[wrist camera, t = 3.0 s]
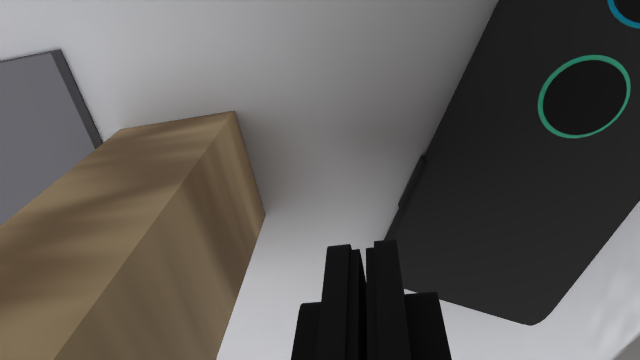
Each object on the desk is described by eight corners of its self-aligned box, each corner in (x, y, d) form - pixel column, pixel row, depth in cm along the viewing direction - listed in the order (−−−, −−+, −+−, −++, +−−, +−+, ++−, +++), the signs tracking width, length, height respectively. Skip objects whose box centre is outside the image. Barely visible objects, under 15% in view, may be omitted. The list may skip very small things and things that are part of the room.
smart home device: (982, -217, 11) (542, 332, 20) (906, -198, 12) (530, 304, 22) (677, -350, 10) (370, 280, 20) (637, -313, 12) (369, 256, 21)
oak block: (234, 110, 18) (53, 360, 7) (265, 215, 20) (160, 520, 10) (120, 129, 19) (-190, 378, 8) (162, 228, 21) (-38, 522, 10)
